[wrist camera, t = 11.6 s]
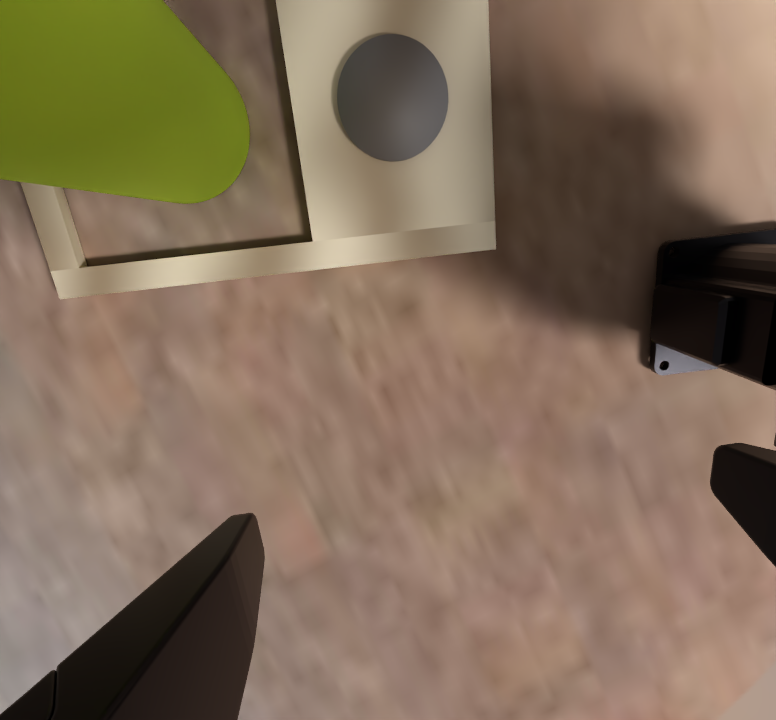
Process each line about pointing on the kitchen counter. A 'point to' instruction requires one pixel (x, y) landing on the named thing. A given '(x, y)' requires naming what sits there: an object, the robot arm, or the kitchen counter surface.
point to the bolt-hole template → (349, 149)
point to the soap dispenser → (115, 102)
